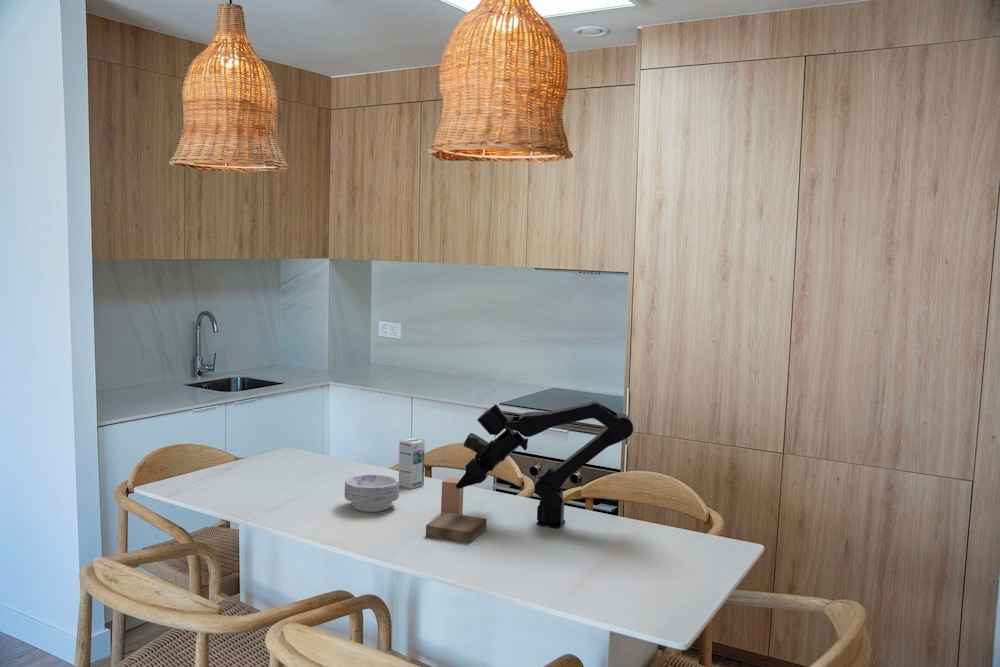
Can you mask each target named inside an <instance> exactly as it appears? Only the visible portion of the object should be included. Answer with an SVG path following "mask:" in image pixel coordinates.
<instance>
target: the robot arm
mask: <svg viewBox="0 0 1000 667" xmlns="http://www.w3.org/2000/svg"><path fill="white" fill-rule="evenodd" d="M588 419H594V420H597V421H598V422H599V423H601V424H602V425H603V426H604V427H603V428H602V429H601V430H600V432H599V433H598V434H596V436H593V438H592V439H591V440H589V441H588V442H587V443H586V444H584V445H583V446H582V447H580V448H579V449H578V450H577V451H576V452H574V453H573V454H571V455H570V456H569V457H568V458H566V459H565V460H563V461H562V462H561V463H560V464H558V465H556V466H552V464H551V463H548V465H547V466H546V467H544V469H542V470H539V471H538V475H537V476H536V478H535V482H534V483H535V484H534V491H535V494H536V496H538V497H539V498H540V500H539V503H538V504H539V505H538V506H537V508H536V509H537V510H536V512H537V513H536V521H537V522H536V525H537V526H544V527H549V528H557V529H559V528H561V527H562V526H563V524H565V522H566V519H564V518H565V517H564V516H565V500H564V490H563V489H562V486H563V485H564V484H565V482H566V481H567V480H568V479H569V477H571V476H573V474H575V473H576V472H577V471H579V470H581V468H582V467H584V466H585V465H587V463H589V462H590V461H591V460H593V459H594V458H595V457H597V456H598V455H599V454H600V453H602V452H603V451H604V450H606V448H609V447H611V446H613V445H616V444H618V443H620V442H622V441H624V440H626V439H628V438H630V437H631V436H632V434H633V432H634V425H633V422H632V419H631V418H630V416H628V414H625V413H617V412H616V411H614V410H612V409H611V408H609V407H607V406H604V405H603V404H601V403H600V402H599V401H596V400H592V401H590V402H588V403H582V404H578V405H574V406H569V407H565V408H561V409H555V410H552V411H527V412H524V413H522V414H521V415H517V416H508V417H507V416H506V414H505V413H504V412H503V411H502V410H501V409H500V407H499V405H498V404H496V403H495V404H494V405H492V406H491V407H490V408H489V409H486V410H485V411H484V412H482V414H481V415H480V416H479V417H477V419H476V421H477V422H478V423H479V424H480V426H481V427H482V428H483V429H484V430H485V431H486V432H487V433H488V434H489V435H490V436H492V435H493V436H497V437H495V439H492V440H491V441H489V442H488V441H487V440H485V439H484V438H482V437H481V436H478V434H475V433H473V432H470V433H469V434H468V435H467V437H466V439H465V440H464V443H463V447H465V448H466V449H469V450H471V451H473V452H474V453H475V455H474V457H473V458H471V459H470V460H469V461H468V462H467V463H466V465H465V467H464V468H465V473H464V474H463V475H462V477H461V479H460V481H459V482H458V483H457V485H456V487H457V489H460V488H463V489H464V488H465V487H469V486H470V487H471V486H473V485H478V484H482V483H483V482H484V481H486V480H487V478H488V476H489V472H492V471H493V470H494V469H495V468H496V467H497V466H498V465H499V464H500V463H501V462H502V463H503V462H504V460H506V459H507V458H508V457H509V456H510V455H511V454H512V453H513V452H514V451H516V450H517V449H518V448H519V447H521V449H522V450H524V451H527V449H528V446H529V445H528V444H529V443H528V442H529V440H530V439H529V438H531V437H533V436H536V435H538V434H541V433H542V432H543V433H544V432H545V431H547V430H548V429H551V428H553V427H558V426H561V425H567V424H571V423H574V422H575V423H576V422H580V421H585V420H588ZM503 430H504V431H503ZM502 431H503V432H502ZM501 432H502V433H501ZM500 433H501V434H500Z"/></svg>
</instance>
